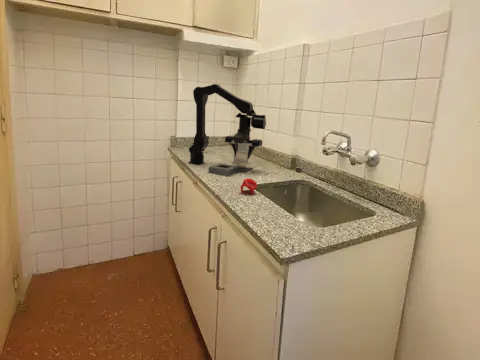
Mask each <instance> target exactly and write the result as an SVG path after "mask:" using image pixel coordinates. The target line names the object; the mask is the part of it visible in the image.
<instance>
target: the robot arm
mask: <svg viewBox="0 0 480 360" xmlns="http://www.w3.org/2000/svg"><path fill="white" fill-rule="evenodd" d="M192 93H193V100H194V102H195V105H196V109H195V111H196V112H195V115H196V119H195V120H196V121H195V123H196V124H195V125H196V126H195V127H196V128H195V129H196V131H195V135H194V138H193V144H192V145H191V146H190V147H189V148H188V152H189V153H190V154H189V155H190V156H189V161H188V164H193V165H203V164H205V154H204V152H205V150H206V149H207V148H208V145H209V144H210V142H209V139H210V136H209V135H207V133H206V104H207V103H208V99H209V96H211V95H214V94H217V95H218V96H219V97H221V98H222V99H224V100H225V101H228V102H229V103H230V104H232V105H233V106H234V107H235V108H236V109H237V110H238V111H239V112H238V114H236V115H235V118H239V124H238V129H237V132H236V133H235V134H234V135H228V136H225V137H224V143H228V144H229V145H231V148H232V149H233V154H234V153H235V157H236V152H237V151H238V143H240V144H242V143H249V152H248V160H249V159H251V158H250V157H251V156H252V154H253V152H254V150H255V148H258V147H262V146H263V140H262V139H257V138H254V139H251V136H250V135H251V131H252V129H259V130H265V128H266V126H267V120H266V118H267V117H266V115H265V114H257V113H256V111H255V109H254V105H253V103H252V102H251V101H248V100H246V99H243V98H240V97H237V96H236V95H235V94H233V93H232V92H230V91H228V90H227V89H225V88H223V87H222V86H221V85H220V84H217V83H213V84H211V85H206V86H202V87H201V86H197V87H195V88H194V89H193V91H192ZM251 127H252V129H251Z"/></svg>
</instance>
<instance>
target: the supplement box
mask: <svg viewBox="0 0 480 360" xmlns="http://www.w3.org/2000/svg"><path fill="white" fill-rule="evenodd" d="M249 146H250V144H249V143H242V144H240V143H238V151H245V152H249ZM232 163H233V165H234V164H235V165H237V161H236V157H235V153H234V152H233V162H232ZM248 163H249V161H248V162H247V163H246V165H247V164H248Z"/></svg>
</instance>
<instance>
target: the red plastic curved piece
mask: <svg viewBox="0 0 480 360" xmlns="http://www.w3.org/2000/svg"><path fill="white" fill-rule="evenodd" d="M244 187H245V188H247V189H248V190H250V193H251V195H254V194H255V193H254V191H255V190H256V189H257V188H258V184H257V182H256V181H255V180H254V179H252V178H245V179H244V180H243V181H242V183H241V185H240V191H241V193H245V191H244Z"/></svg>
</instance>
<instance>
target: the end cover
mask: <svg viewBox="0 0 480 360" xmlns="http://www.w3.org/2000/svg"><path fill="white" fill-rule="evenodd" d="M236 161H237V164H236V166H239V167H247V164H248V163H249V159H248V152H245V151H237V152H236ZM247 162H248V163H247ZM246 163H247V164H246Z"/></svg>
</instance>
